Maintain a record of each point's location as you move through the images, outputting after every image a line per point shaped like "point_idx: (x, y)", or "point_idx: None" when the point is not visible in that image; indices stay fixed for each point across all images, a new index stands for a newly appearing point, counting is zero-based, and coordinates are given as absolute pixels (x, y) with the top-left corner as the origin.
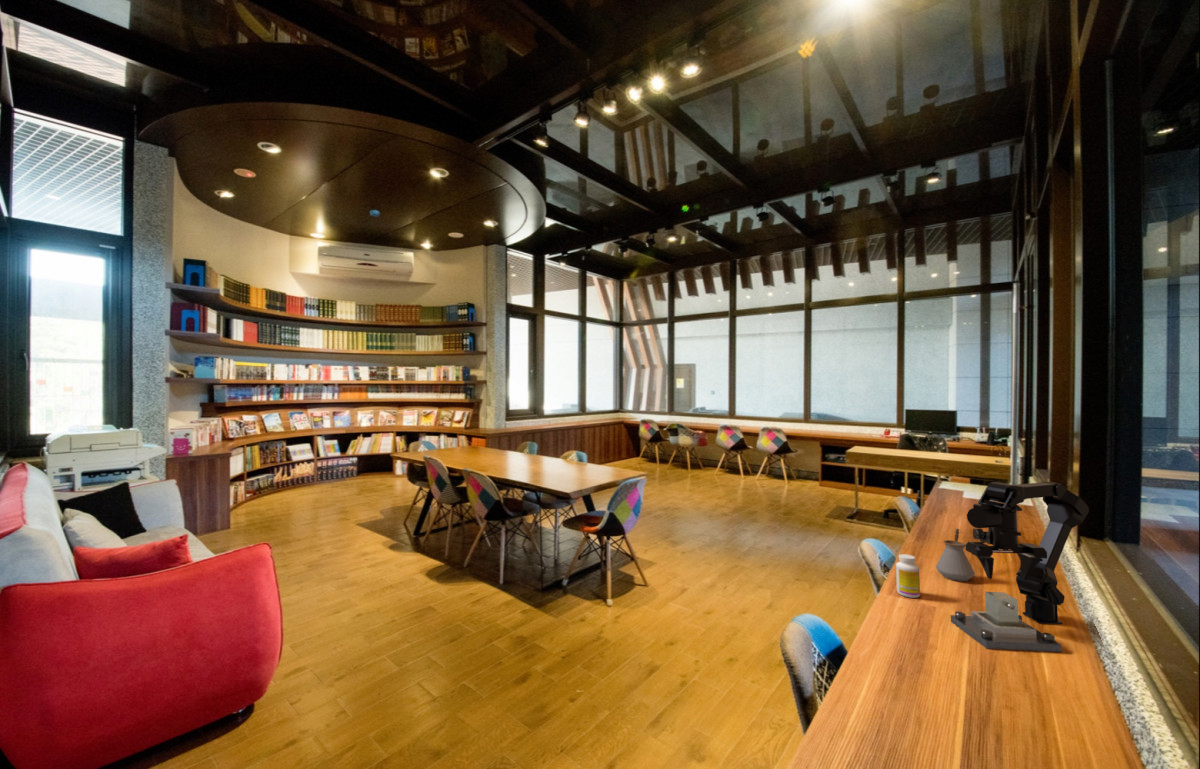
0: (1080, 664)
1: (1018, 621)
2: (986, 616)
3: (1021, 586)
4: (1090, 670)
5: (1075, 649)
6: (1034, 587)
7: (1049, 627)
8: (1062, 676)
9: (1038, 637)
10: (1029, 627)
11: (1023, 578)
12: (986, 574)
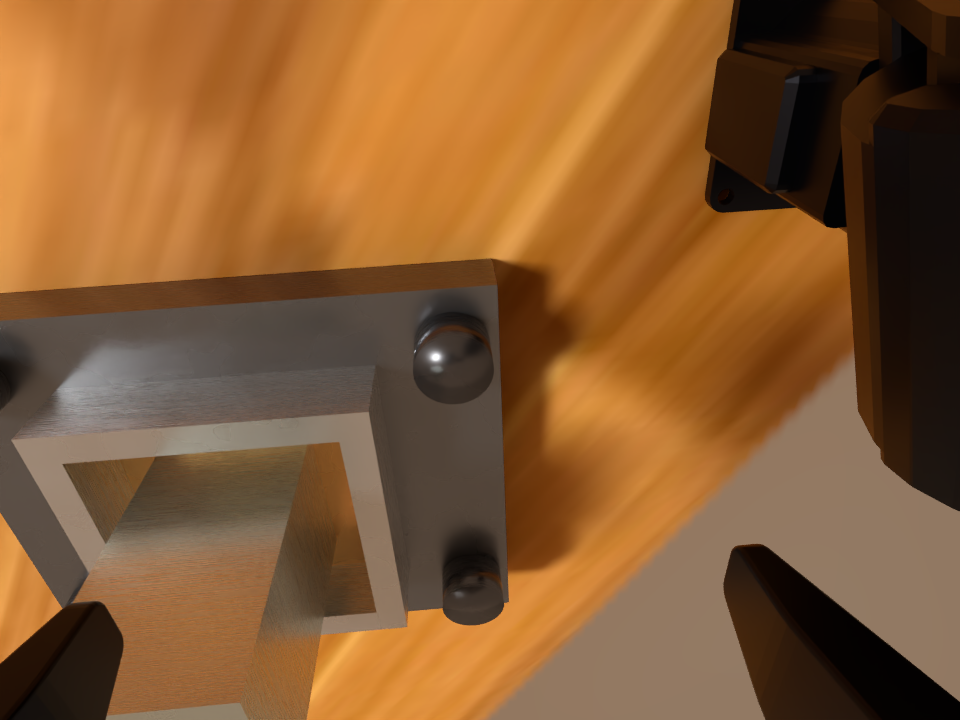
0: (505, 636)
1: (323, 610)
2: (138, 497)
3: (845, 175)
4: (508, 665)
5: (613, 523)
6: (879, 401)
7: (729, 259)
8: (350, 716)
9: (435, 553)
10: (379, 612)
11: (736, 599)
12: (9, 667)
